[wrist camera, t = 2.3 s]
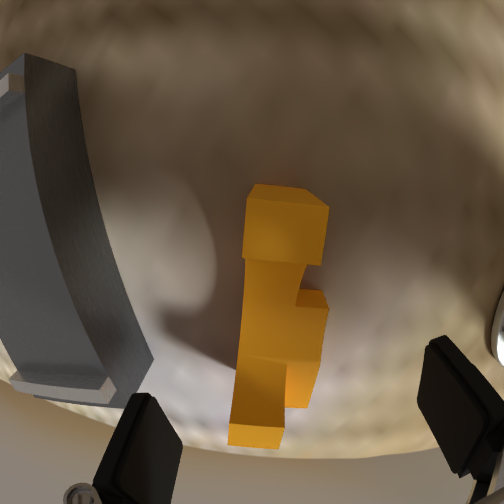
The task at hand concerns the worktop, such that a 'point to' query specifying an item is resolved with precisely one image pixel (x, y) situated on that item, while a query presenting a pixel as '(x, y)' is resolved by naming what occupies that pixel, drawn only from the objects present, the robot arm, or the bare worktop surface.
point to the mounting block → (59, 251)
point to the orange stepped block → (278, 313)
